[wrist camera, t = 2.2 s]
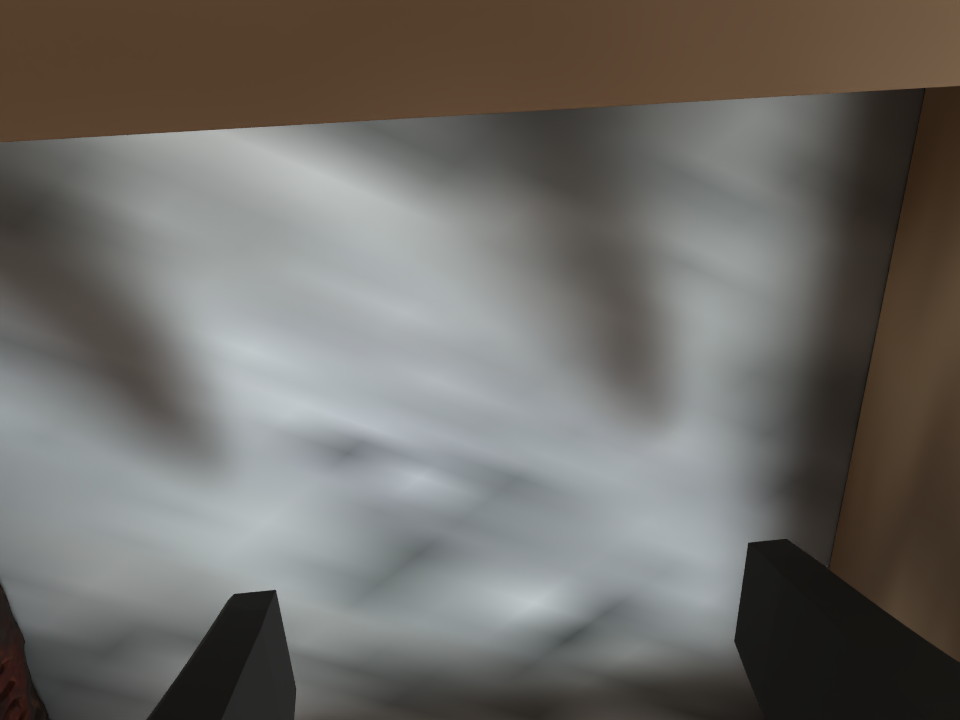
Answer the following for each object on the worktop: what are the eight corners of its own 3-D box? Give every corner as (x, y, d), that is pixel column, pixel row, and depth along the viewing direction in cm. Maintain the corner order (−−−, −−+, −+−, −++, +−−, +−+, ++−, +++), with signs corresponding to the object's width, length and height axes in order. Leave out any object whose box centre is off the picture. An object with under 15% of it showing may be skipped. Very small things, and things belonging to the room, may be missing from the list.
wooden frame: (834, 773, 18) (929, 941, 15) (-110, 892, 17) (-233, 1108, 13) (1031, -42, 11) (1311, -63, 7) (-661, 36, 9) (-1250, 54, 6)
